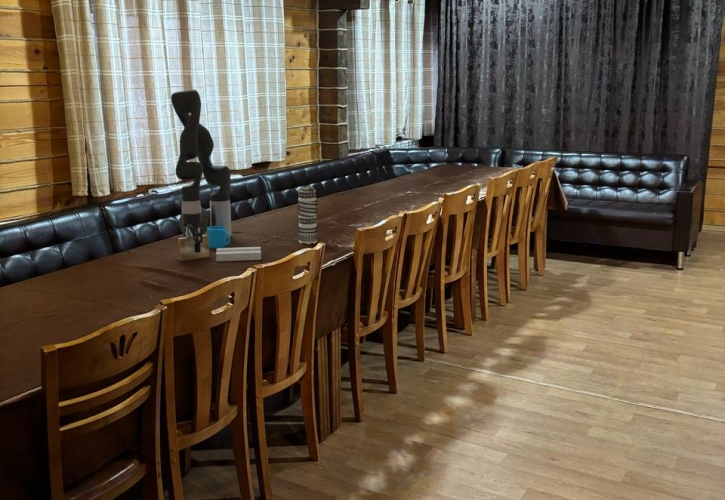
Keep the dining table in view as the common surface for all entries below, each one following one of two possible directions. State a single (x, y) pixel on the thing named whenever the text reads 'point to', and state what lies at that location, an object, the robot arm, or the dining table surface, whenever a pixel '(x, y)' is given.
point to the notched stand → (238, 254)
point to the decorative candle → (307, 215)
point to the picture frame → (192, 248)
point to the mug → (217, 237)
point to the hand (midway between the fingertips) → (193, 250)
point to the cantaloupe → (203, 224)
